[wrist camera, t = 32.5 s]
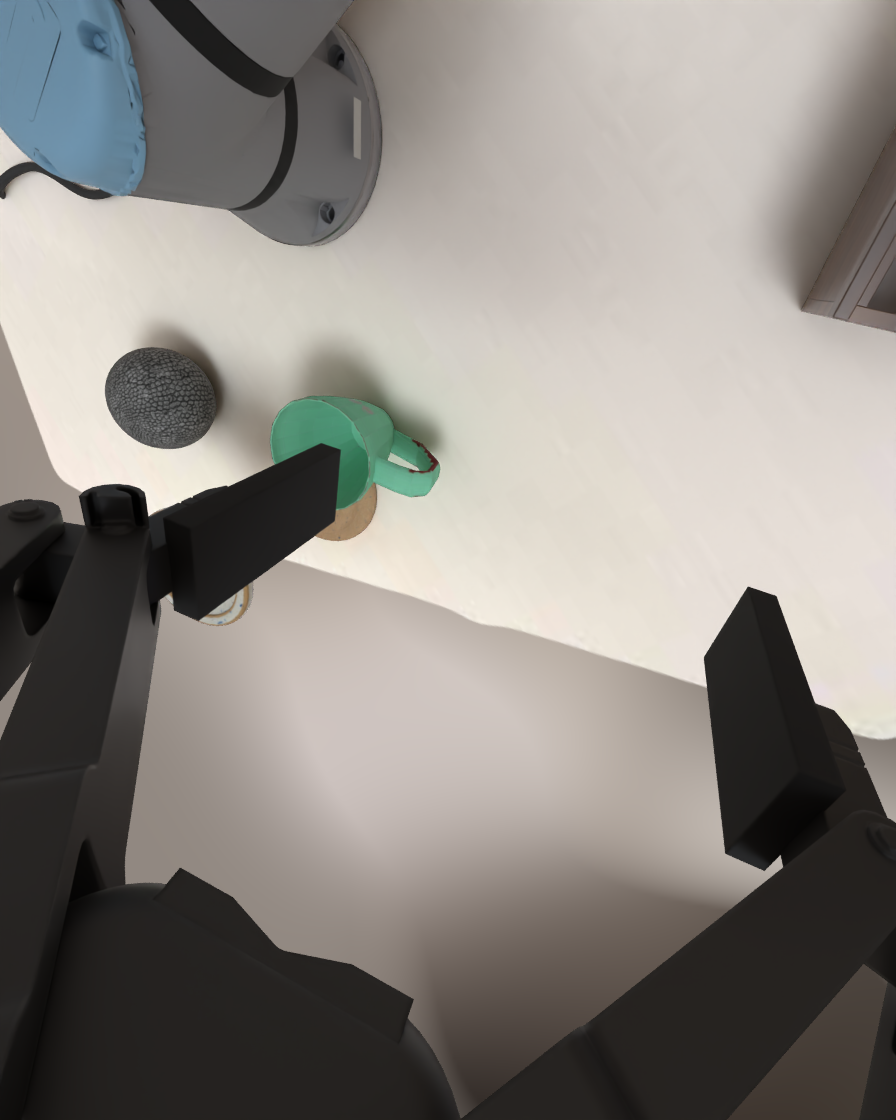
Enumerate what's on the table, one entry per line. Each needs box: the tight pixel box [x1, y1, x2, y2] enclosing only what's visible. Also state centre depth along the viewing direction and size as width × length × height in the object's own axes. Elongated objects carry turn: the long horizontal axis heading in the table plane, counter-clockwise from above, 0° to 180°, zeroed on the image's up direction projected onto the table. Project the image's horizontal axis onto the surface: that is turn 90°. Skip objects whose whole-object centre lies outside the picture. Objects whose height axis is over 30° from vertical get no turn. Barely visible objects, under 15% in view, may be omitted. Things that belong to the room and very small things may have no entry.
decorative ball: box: [105, 347, 216, 449], centre depth 53 cm, size 10×10×10 cm
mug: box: [270, 396, 440, 510], centre depth 47 cm, size 15×10×10 cm
